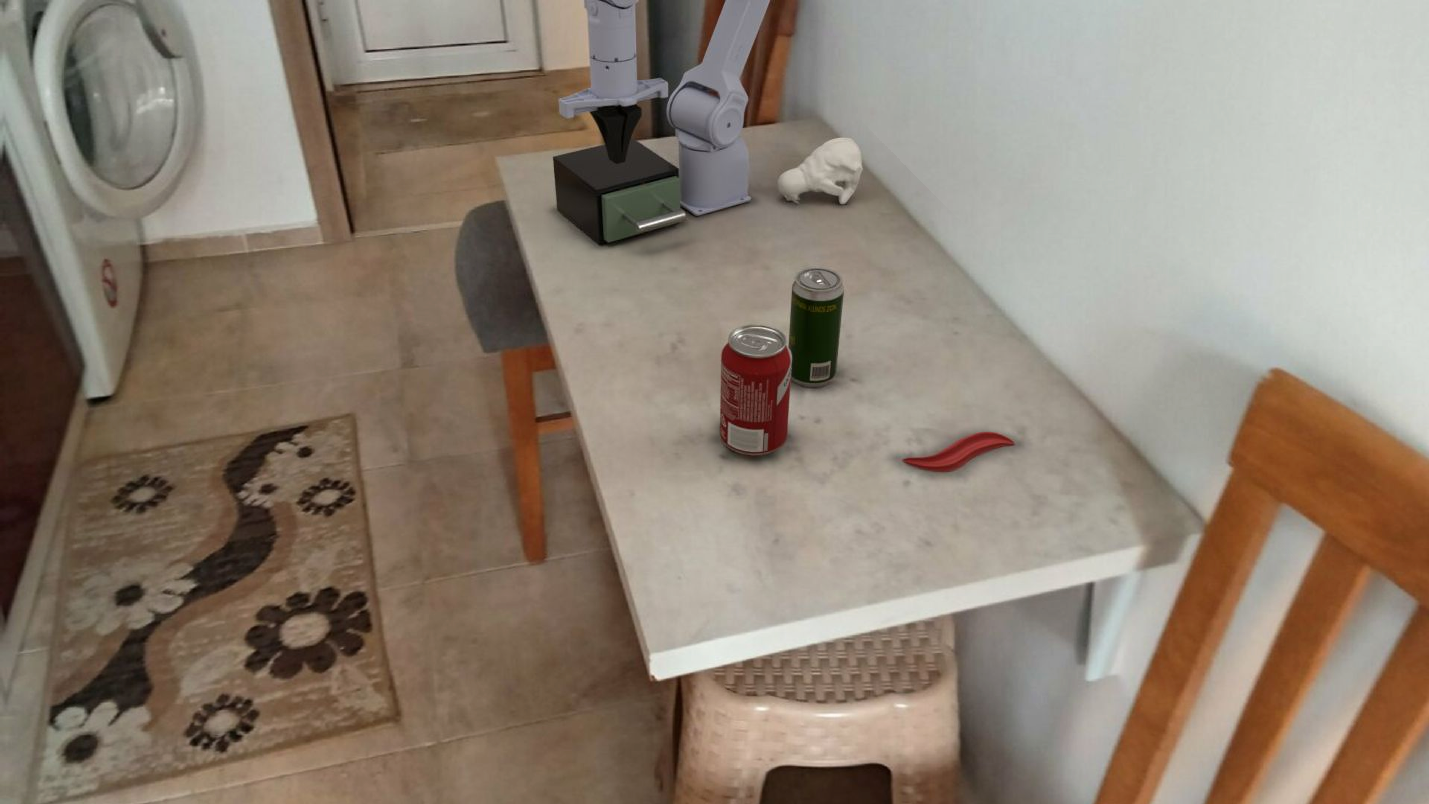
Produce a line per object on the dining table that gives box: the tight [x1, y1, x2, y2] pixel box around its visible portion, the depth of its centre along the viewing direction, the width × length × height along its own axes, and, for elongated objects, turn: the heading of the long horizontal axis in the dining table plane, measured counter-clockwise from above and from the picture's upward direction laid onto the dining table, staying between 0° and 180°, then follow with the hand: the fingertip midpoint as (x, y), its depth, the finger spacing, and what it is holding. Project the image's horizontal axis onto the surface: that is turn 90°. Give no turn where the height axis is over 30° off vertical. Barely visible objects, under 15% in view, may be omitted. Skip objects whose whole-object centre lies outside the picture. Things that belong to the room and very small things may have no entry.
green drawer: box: [601, 176, 687, 244], centre depth 143 cm, size 16×11×6 cm
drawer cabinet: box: [552, 137, 679, 246], centre depth 146 cm, size 12×12×8 cm
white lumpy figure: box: [777, 137, 864, 205], centre depth 151 cm, size 6×8×12 cm
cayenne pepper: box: [902, 431, 1016, 473], centre depth 106 cm, size 12×5×2 cm, turn 98°
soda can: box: [719, 323, 792, 456], centre depth 105 cm, size 7×7×12 cm
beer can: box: [787, 267, 845, 388], centre depth 114 cm, size 5×5×12 cm
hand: (617, 160), depth 138 cm, fingers closed
